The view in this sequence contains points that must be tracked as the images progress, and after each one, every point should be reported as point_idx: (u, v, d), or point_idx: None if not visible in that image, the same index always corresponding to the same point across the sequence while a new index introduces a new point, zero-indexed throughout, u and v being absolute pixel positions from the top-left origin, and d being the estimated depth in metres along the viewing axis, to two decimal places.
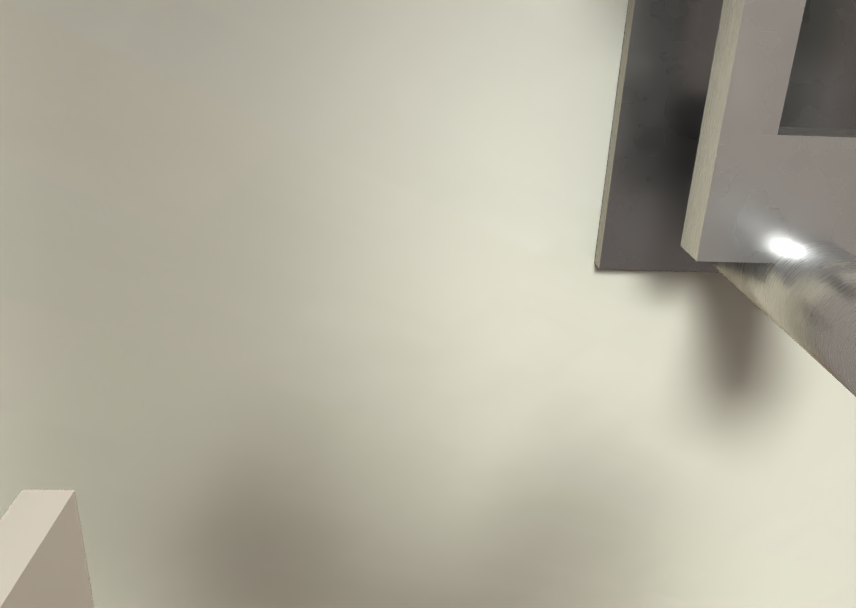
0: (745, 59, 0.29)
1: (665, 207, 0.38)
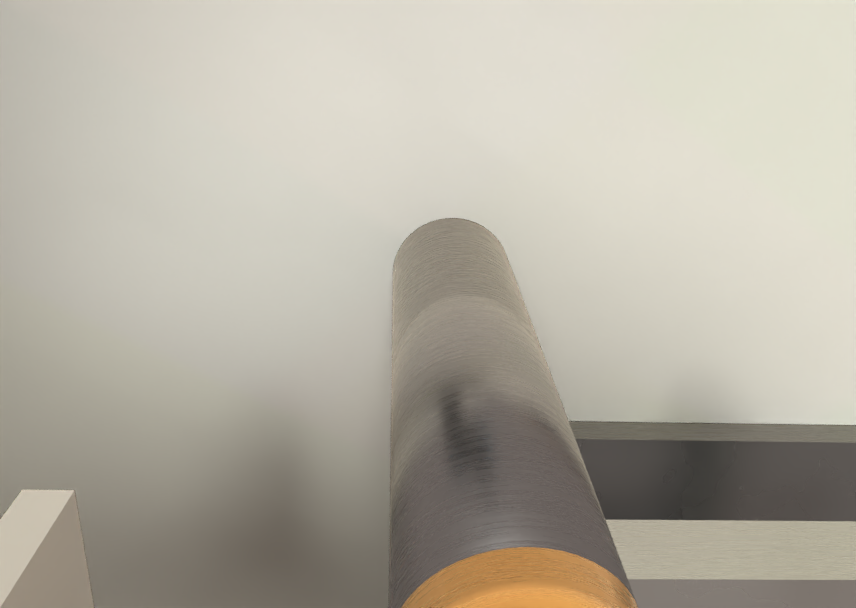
0: None
1: None
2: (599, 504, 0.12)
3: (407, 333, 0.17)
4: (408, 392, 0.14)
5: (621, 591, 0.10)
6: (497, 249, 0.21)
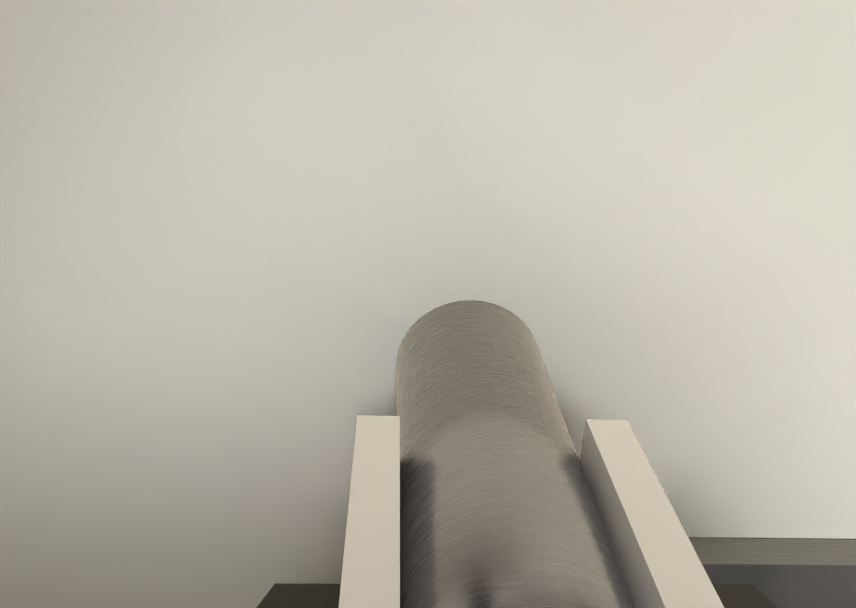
0: None
1: None
2: None
3: (416, 486, 0.12)
4: (420, 601, 0.10)
5: None
6: (527, 344, 0.17)
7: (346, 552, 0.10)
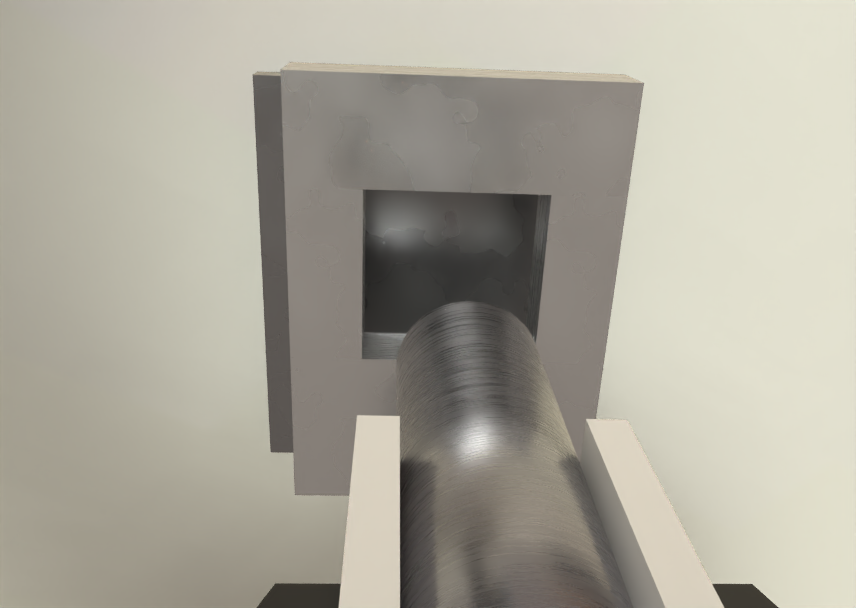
0: (302, 277, 0.23)
1: None
2: None
3: (416, 485, 0.12)
4: (419, 600, 0.10)
5: None
6: (526, 344, 0.17)
7: (346, 552, 0.10)
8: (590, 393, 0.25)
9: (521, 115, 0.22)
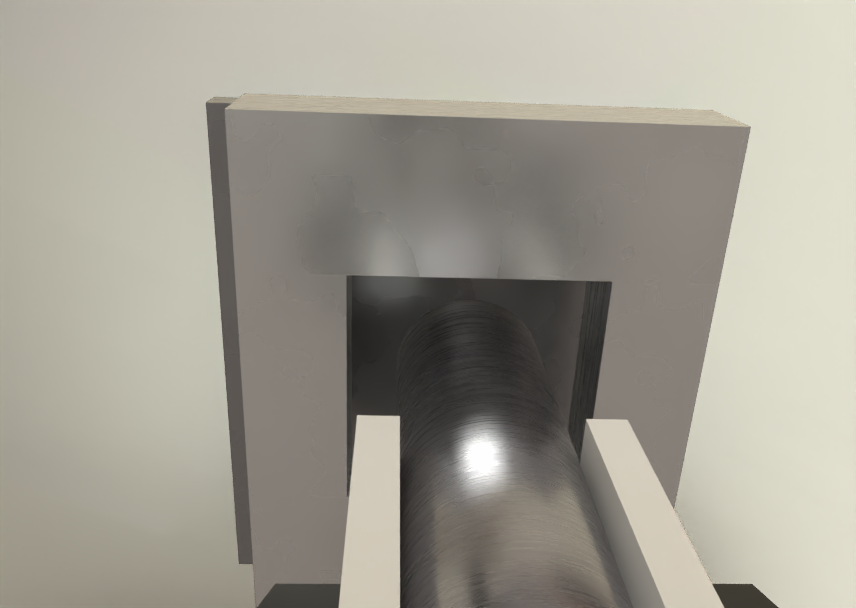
0: (262, 392, 0.17)
1: None
2: None
3: (416, 482, 0.12)
4: (419, 595, 0.10)
5: None
6: (526, 343, 0.17)
7: (346, 552, 0.10)
8: None
9: (572, 173, 0.15)
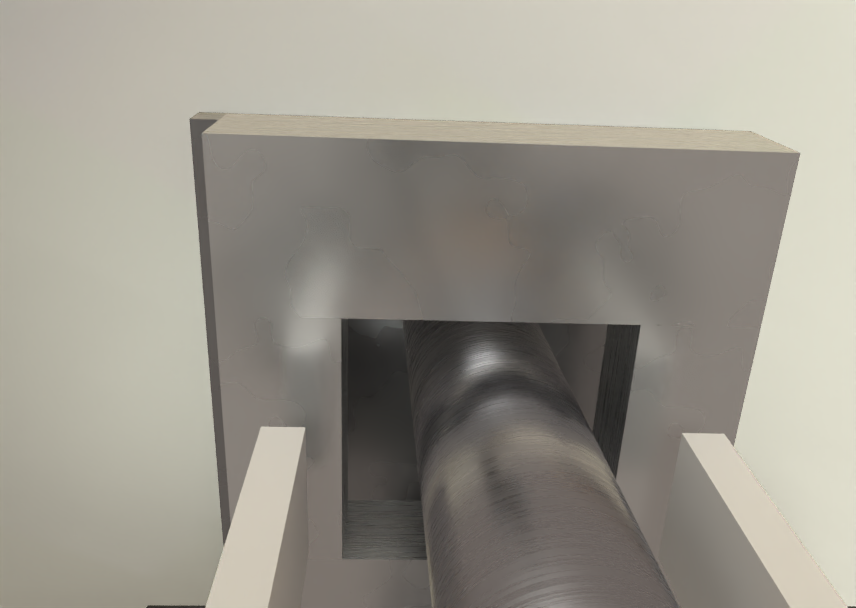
0: (247, 447, 0.15)
1: None
2: (666, 581, 0.11)
3: (431, 381, 0.15)
4: (442, 452, 0.13)
5: None
6: None
7: (218, 573, 0.10)
8: None
9: (597, 205, 0.13)
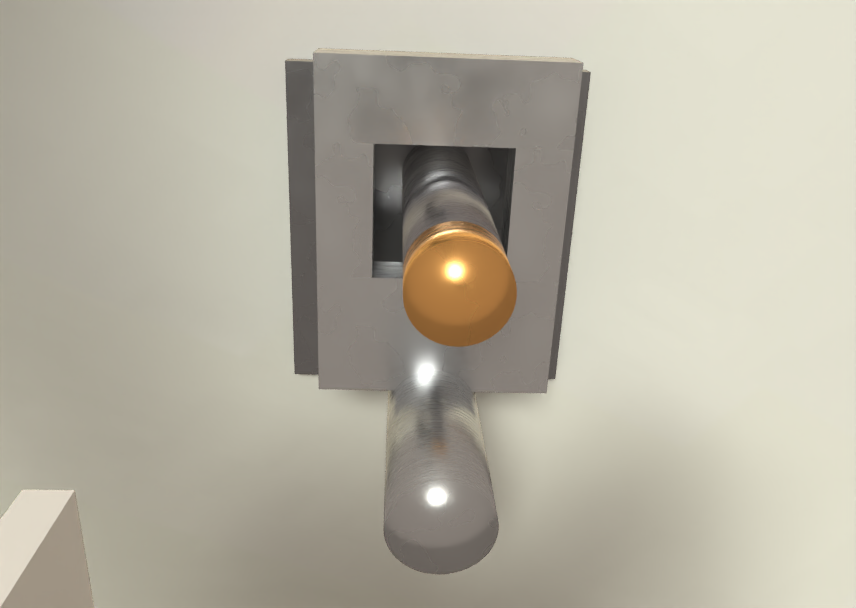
0: (326, 212, 0.31)
1: None
2: None
3: (411, 184, 0.31)
4: (411, 200, 0.29)
5: (495, 239, 0.24)
6: (463, 154, 0.36)
7: None
8: (549, 306, 0.32)
9: (492, 87, 0.29)
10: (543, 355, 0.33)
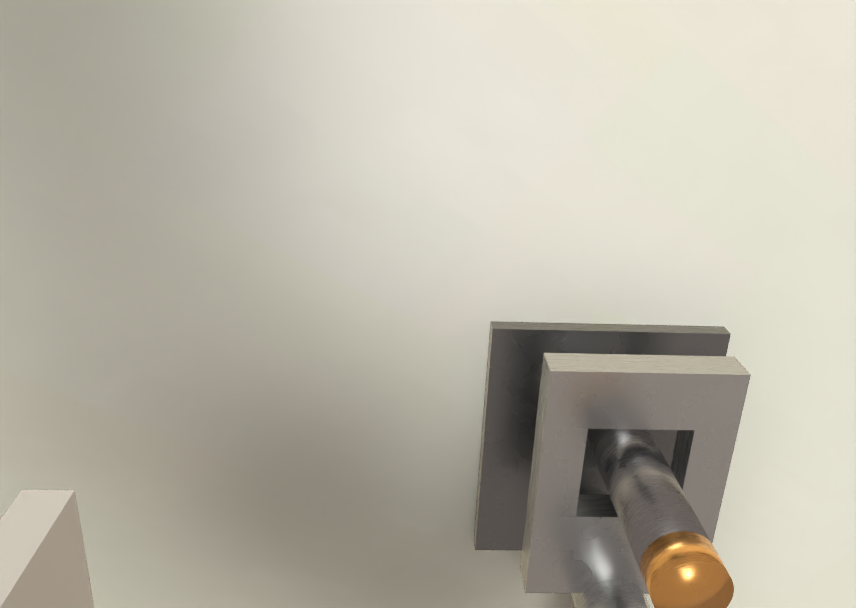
0: (547, 473, 0.40)
1: (523, 508, 0.50)
2: (697, 518, 0.36)
3: (608, 448, 0.41)
4: (620, 476, 0.39)
5: (710, 543, 0.34)
6: None
7: None
8: (708, 534, 0.42)
9: (680, 391, 0.39)
10: None
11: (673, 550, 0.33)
